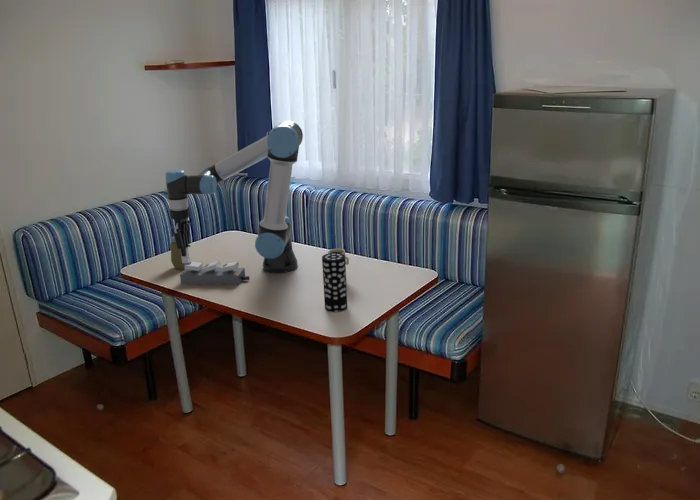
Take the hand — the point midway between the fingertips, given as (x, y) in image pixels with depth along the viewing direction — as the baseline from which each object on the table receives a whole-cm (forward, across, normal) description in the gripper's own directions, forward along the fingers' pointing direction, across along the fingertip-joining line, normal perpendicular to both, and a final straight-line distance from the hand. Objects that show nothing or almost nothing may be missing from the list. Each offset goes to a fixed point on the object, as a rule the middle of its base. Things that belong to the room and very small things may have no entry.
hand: (186, 262), depth 245 cm
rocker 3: (+1, 0, +19) cm, 19 cm away
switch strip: (+8, 0, +13) cm, 15 cm away
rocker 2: (+1, 0, +11) cm, 11 cm away
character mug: (+7, -1, +64) cm, 65 cm away
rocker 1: (+2, 0, +3) cm, 3 cm away
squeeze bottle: (+8, -14, -9) cm, 18 cm away
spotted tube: (+7, +24, +67) cm, 72 cm away
